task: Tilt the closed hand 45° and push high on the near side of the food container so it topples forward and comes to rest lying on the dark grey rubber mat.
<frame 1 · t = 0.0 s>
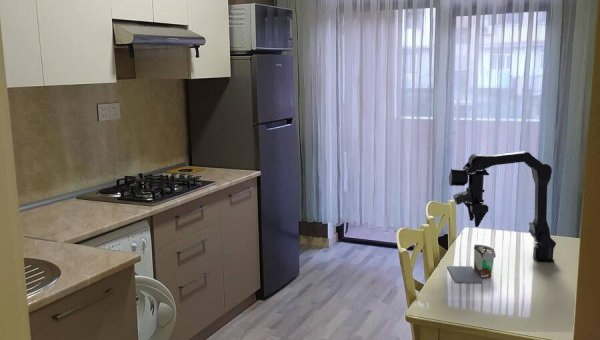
hand: (473, 223, 229), 15 cm above the table, tool pointing down, fingers open, 9 cm apart
grey rubber mat: (463, 275, 213), on the table
food container: (485, 275, 214), on the table
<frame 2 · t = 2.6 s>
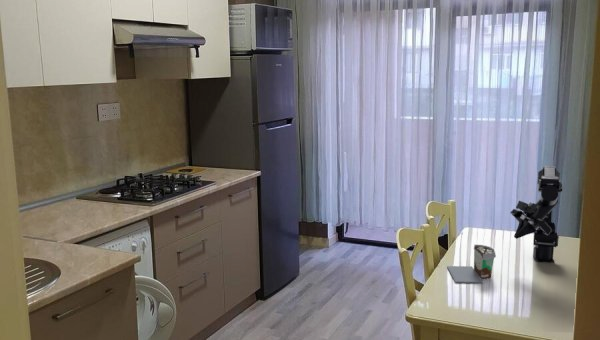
hand: (515, 237, 214), 14 cm above the table, tool tilted 45°, fingers closed
nothing on the table moved.
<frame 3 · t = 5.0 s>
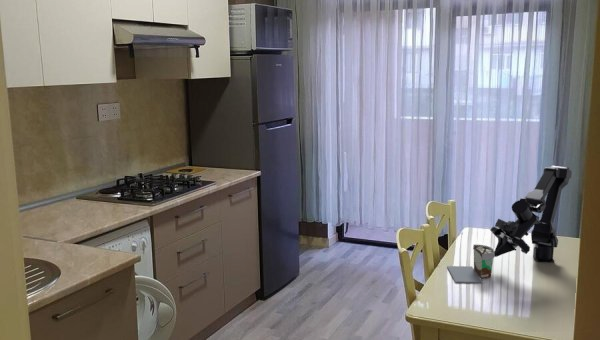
hand: (494, 255, 213), 7 cm above the table, tool tilted 45°, fingers closed
food container: (485, 274, 214), on the table, touching gripper
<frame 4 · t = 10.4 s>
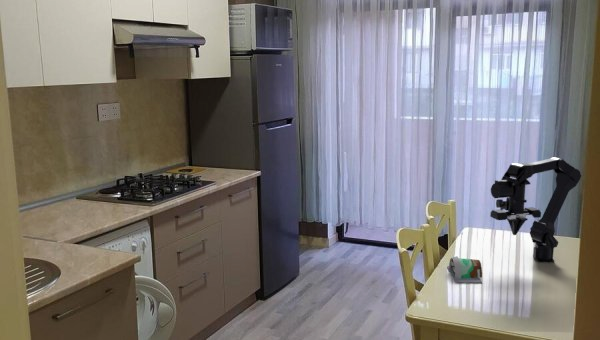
hand: (514, 234, 222), 12 cm above the table, tool pointing down, fingers closed
food container: (479, 265, 213), point 4 cm above the table, touching grey rubber mat
at the end: food container tilted 90°; food container inside the target area (4.2 cm from its centre), point 3.7 cm above the table; food container touching grey rubber mat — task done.
